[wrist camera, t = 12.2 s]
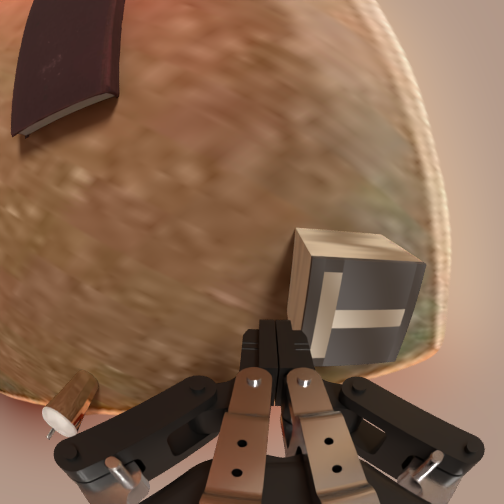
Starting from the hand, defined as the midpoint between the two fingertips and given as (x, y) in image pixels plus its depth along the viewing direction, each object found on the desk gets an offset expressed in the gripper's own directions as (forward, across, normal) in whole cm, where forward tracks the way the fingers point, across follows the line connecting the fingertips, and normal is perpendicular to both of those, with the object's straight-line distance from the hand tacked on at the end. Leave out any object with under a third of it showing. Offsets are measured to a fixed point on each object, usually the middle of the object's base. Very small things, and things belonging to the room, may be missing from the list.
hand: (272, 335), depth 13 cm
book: (+9, +19, -23) cm, 31 cm away
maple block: (+2, -5, 0) cm, 6 cm away
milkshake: (+9, +22, +16) cm, 28 cm away
